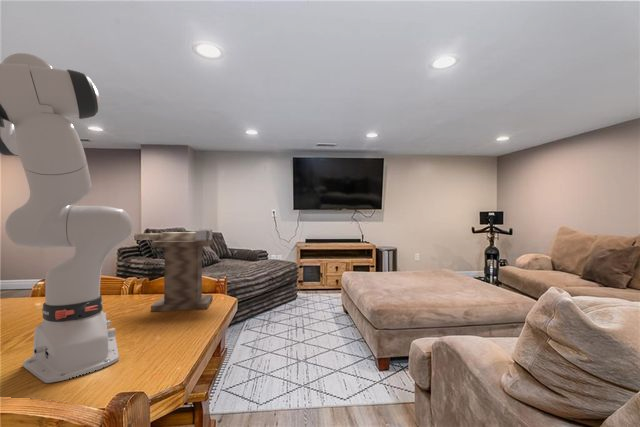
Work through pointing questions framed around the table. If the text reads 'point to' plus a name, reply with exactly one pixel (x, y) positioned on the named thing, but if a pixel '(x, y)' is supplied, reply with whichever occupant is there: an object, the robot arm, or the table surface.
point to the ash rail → (166, 236)
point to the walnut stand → (182, 276)
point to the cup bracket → (203, 235)
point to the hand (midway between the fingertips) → (53, 211)
